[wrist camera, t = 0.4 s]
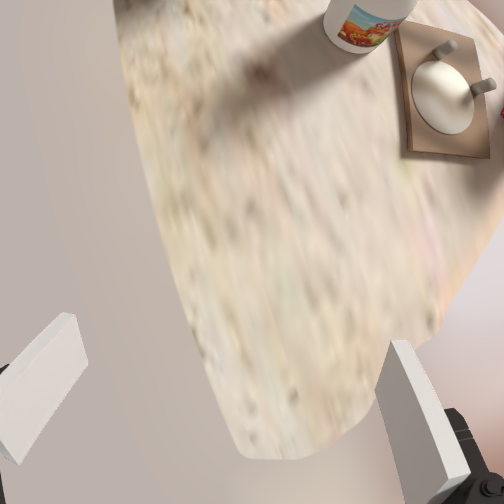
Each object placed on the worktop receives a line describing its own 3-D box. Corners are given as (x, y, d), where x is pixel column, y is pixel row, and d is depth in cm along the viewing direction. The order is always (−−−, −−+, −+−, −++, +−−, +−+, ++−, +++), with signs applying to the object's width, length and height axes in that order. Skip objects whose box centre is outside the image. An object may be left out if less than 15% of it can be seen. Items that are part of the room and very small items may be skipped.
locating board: (392, 23, 31) (408, 6, 26) (468, 41, 31) (488, 30, 26) (408, 150, 35) (429, 148, 30) (483, 158, 35) (507, 158, 30)
